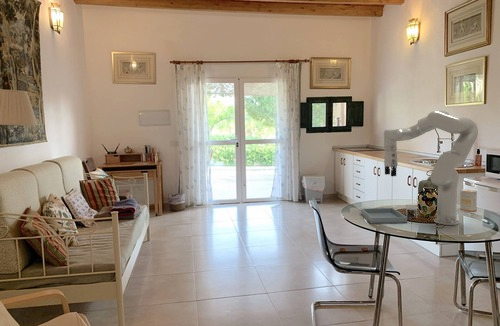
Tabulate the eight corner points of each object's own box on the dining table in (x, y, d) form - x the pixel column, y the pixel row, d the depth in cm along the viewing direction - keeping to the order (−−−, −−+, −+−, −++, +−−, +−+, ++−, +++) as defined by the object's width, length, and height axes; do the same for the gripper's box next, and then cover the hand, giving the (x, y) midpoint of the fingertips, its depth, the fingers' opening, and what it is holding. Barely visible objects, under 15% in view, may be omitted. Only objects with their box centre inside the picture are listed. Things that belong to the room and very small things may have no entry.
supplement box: (477, 211, 225) (477, 190, 224) (471, 212, 223) (472, 191, 222) (464, 208, 233) (465, 189, 232) (459, 209, 231) (460, 189, 230)
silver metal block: (416, 219, 212) (417, 209, 212) (406, 218, 215) (406, 208, 214) (416, 214, 223) (416, 205, 223) (405, 213, 226) (406, 204, 225)
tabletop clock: (438, 204, 247) (438, 169, 245) (445, 207, 238) (446, 170, 236) (417, 205, 248) (418, 169, 245) (424, 208, 238) (424, 171, 236)
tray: (407, 223, 203) (407, 217, 203) (371, 223, 205) (371, 217, 204) (392, 213, 227) (392, 208, 227) (361, 214, 228) (361, 208, 228)
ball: (415, 214, 220) (414, 208, 220) (409, 214, 220) (408, 209, 220) (413, 213, 223) (412, 207, 223) (407, 214, 224) (406, 208, 224)
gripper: (402, 149, 218) (402, 176, 219) (390, 148, 235) (390, 173, 236) (389, 149, 218) (390, 177, 219) (379, 148, 235) (379, 174, 236)
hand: (390, 175), depth 228 cm, fingers open, 9 cm apart
